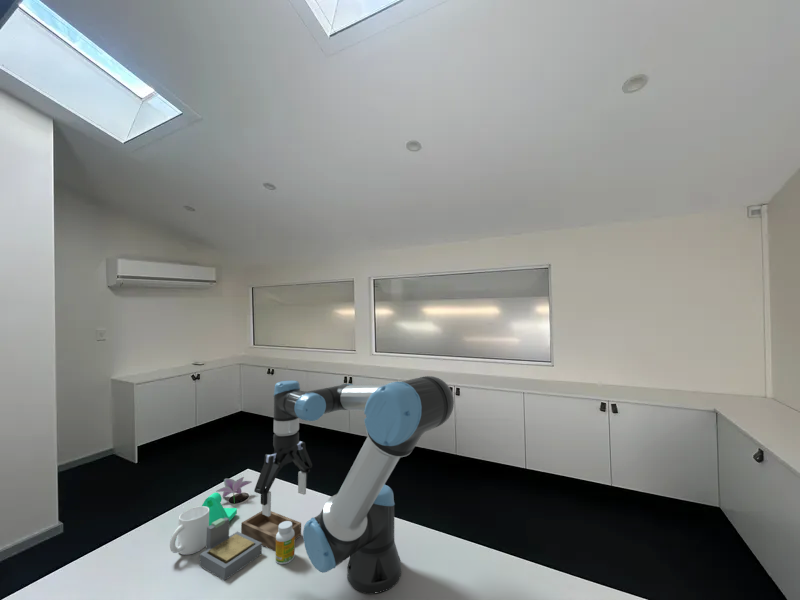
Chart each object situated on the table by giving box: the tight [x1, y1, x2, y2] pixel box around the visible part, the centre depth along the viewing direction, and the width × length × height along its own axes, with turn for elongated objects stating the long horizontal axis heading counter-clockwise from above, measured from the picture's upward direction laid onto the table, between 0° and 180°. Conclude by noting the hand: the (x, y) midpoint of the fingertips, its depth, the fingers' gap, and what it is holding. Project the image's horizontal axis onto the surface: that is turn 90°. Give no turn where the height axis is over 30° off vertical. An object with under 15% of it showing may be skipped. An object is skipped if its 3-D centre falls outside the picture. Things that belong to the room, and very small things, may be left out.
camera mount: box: [201, 491, 238, 526], centre depth 119 cm, size 12×8×10 cm, turn 87°
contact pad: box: [209, 534, 254, 564], centre depth 99 cm, size 9×9×2 cm
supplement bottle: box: [275, 521, 296, 565], centre depth 99 cm, size 5×5×10 cm
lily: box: [215, 476, 253, 505], centre depth 133 cm, size 12×12×10 cm
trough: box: [240, 510, 302, 552], centre depth 110 cm, size 18×10×4 cm, turn 61°
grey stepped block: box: [199, 517, 263, 581], centre depth 99 cm, size 14×12×9 cm
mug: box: [169, 505, 209, 556], centre depth 103 cm, size 12×8×10 cm
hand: (285, 503), depth 100 cm, fingers open, 13 cm apart
